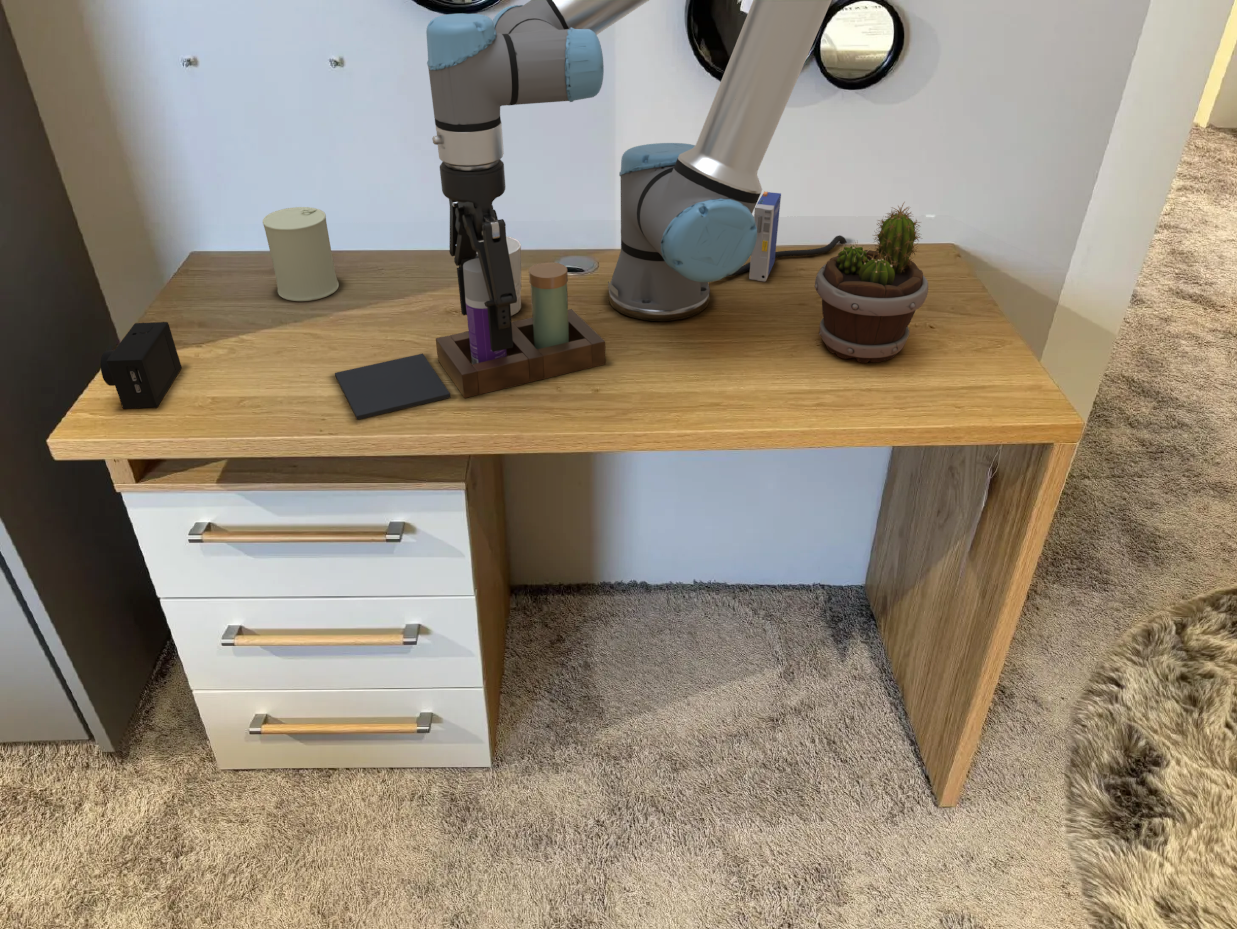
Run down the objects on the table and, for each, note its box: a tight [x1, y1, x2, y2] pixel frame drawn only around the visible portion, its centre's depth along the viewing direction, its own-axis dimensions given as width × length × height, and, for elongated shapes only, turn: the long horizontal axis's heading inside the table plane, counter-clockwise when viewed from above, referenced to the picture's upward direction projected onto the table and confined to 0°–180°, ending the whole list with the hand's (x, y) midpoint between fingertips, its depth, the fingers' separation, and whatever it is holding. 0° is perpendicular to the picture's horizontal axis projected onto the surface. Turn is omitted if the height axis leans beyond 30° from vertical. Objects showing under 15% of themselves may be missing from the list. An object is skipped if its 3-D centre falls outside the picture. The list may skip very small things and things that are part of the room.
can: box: [262, 206, 340, 302], centre depth 146 cm, size 9×9×12 cm
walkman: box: [748, 191, 782, 282], centre depth 151 cm, size 8×3×12 cm, turn 162°
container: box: [463, 258, 508, 364], centre depth 124 cm, size 5×5×15 cm
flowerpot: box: [814, 202, 929, 364], centre depth 127 cm, size 14×15×20 cm
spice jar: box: [528, 261, 569, 349], centre depth 128 cm, size 5×5×13 cm
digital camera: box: [100, 321, 183, 410], centre depth 122 cm, size 10×5×7 cm, turn 4°
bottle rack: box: [435, 308, 606, 399], centre depth 129 cm, size 20×11×4 cm, turn 116°
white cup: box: [476, 235, 522, 317], centre depth 140 cm, size 8×8×10 cm
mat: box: [334, 353, 451, 420], centre depth 124 cm, size 12×12×1 cm
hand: (486, 329), depth 125 cm, fingers open, 11 cm apart
